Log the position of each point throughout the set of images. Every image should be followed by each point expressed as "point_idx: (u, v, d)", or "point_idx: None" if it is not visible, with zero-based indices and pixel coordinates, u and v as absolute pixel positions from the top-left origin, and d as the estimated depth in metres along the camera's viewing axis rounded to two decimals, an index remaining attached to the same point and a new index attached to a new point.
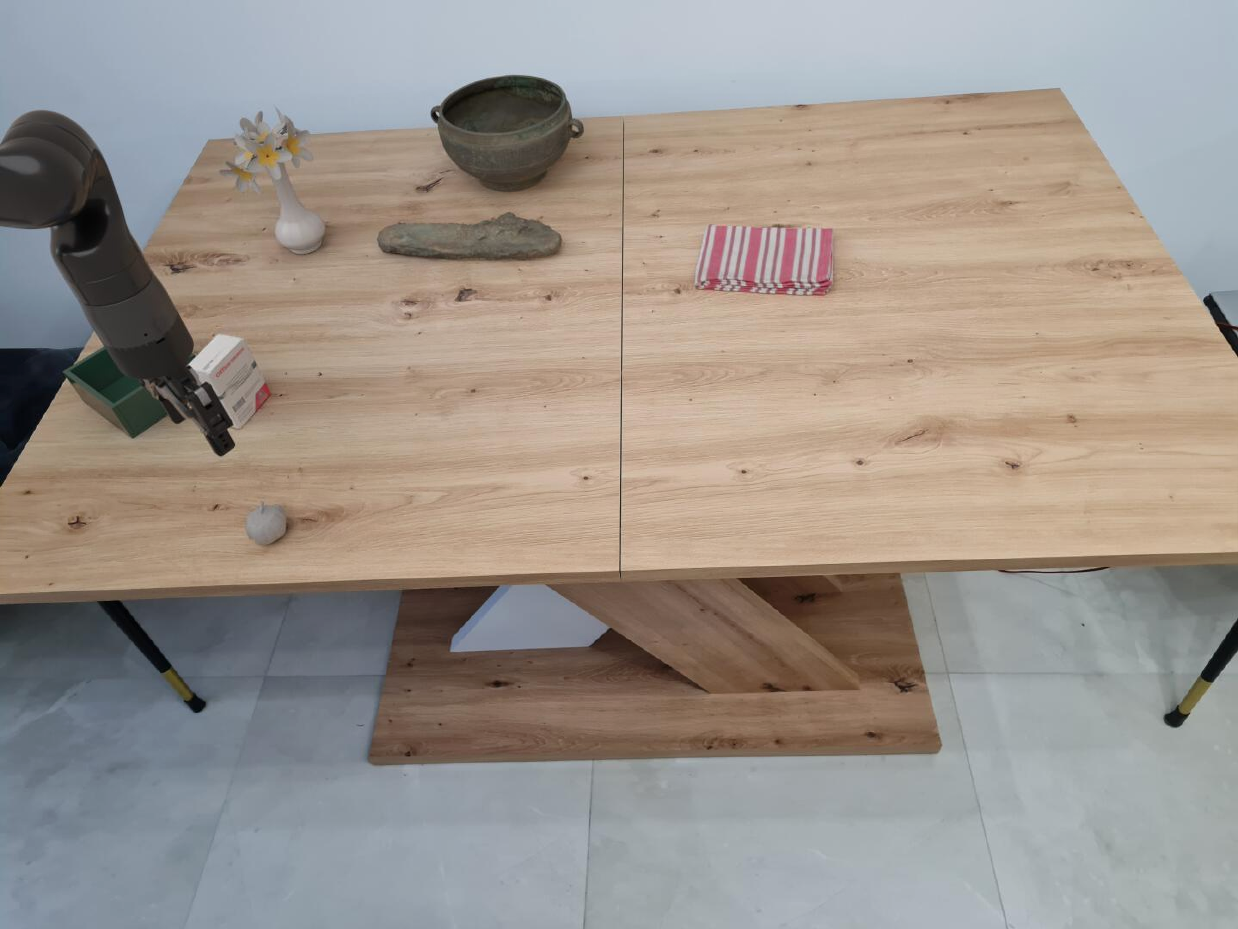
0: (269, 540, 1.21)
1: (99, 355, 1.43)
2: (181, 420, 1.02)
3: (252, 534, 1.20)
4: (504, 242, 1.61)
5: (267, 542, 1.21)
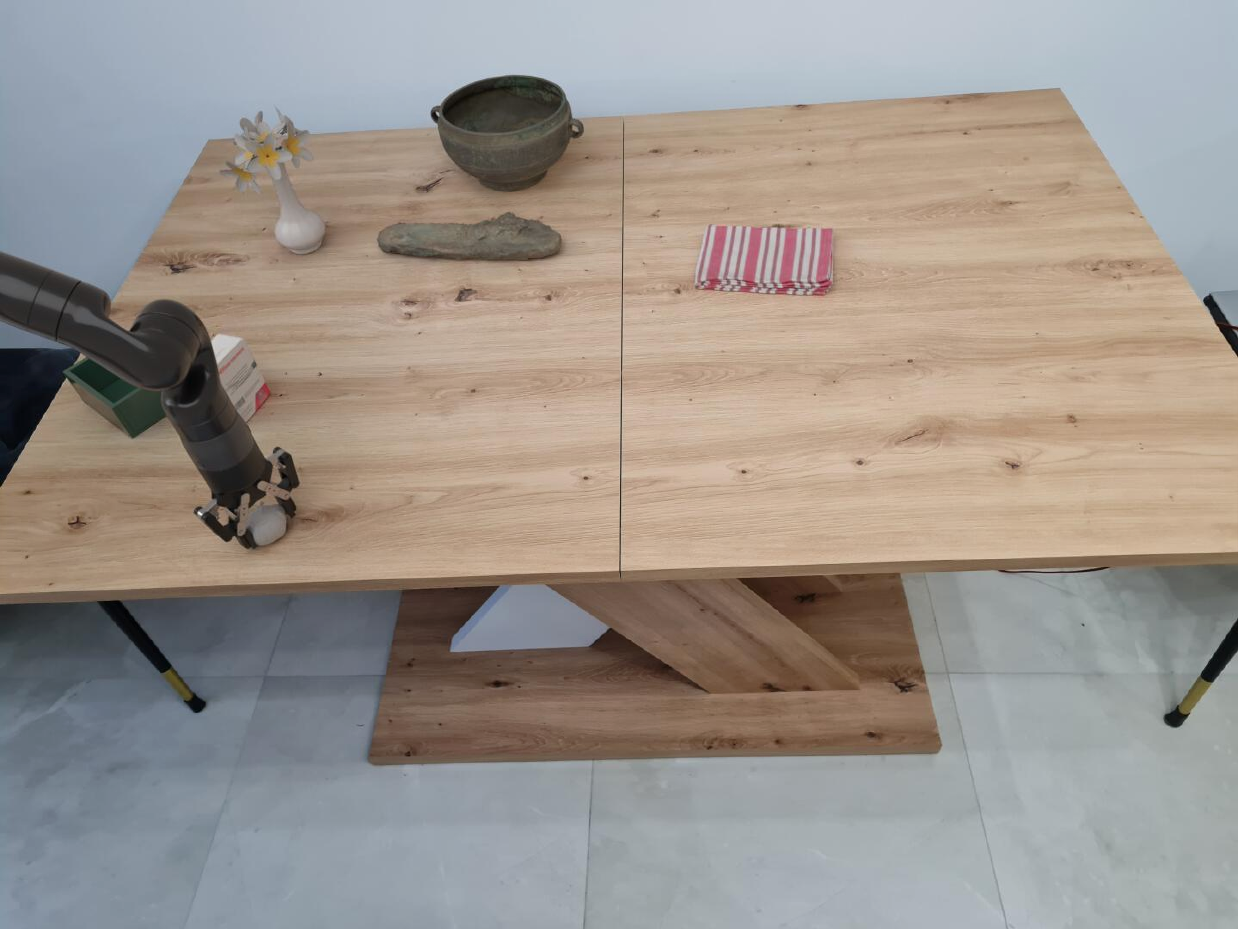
0: (269, 540, 1.21)
1: None
2: None
3: (252, 534, 1.20)
4: (504, 242, 1.61)
5: (267, 542, 1.21)
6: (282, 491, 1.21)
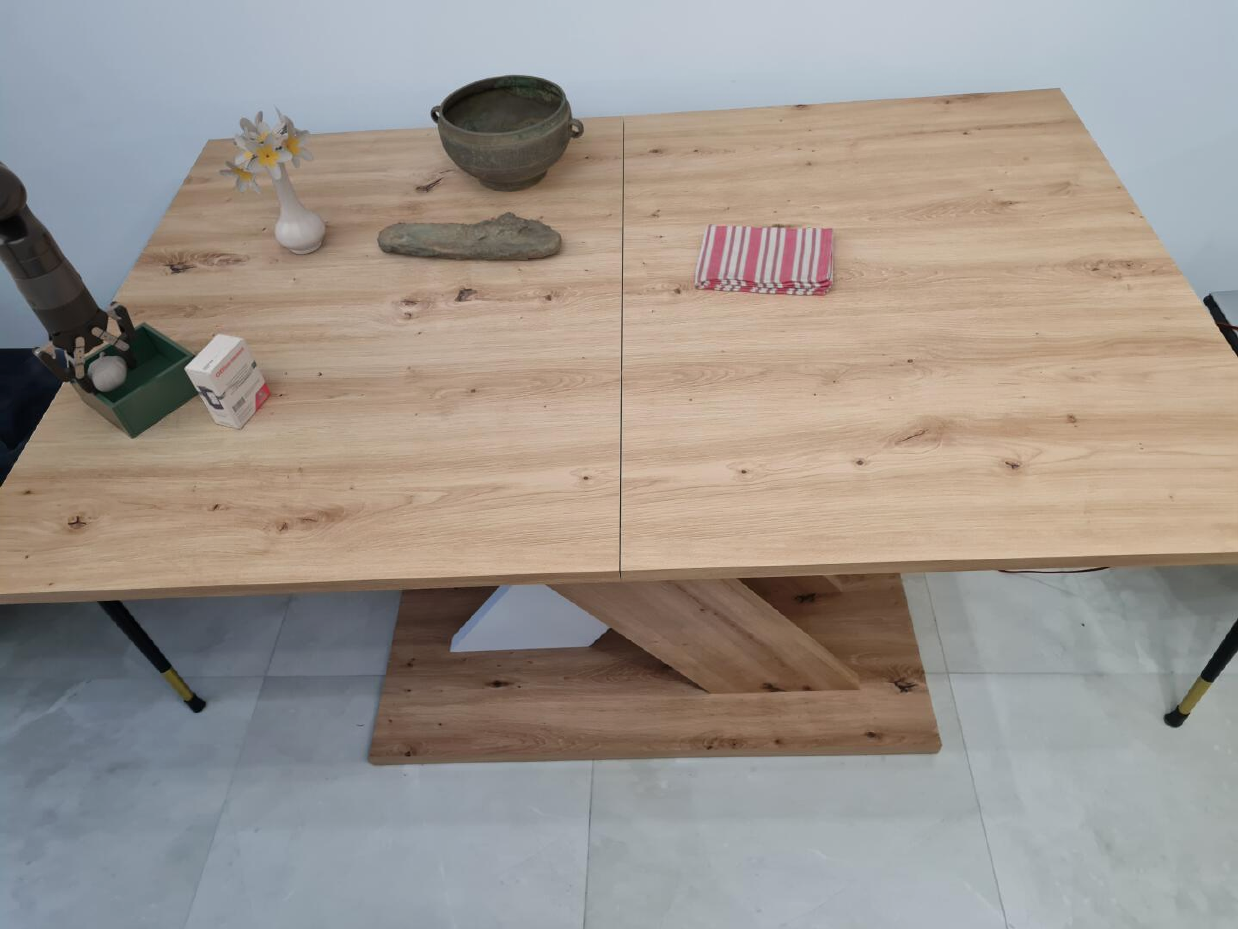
0: (108, 386, 1.36)
1: (99, 355, 1.43)
2: (128, 367, 1.40)
3: (92, 379, 1.35)
4: (504, 242, 1.61)
5: (106, 388, 1.36)
6: (119, 342, 1.35)
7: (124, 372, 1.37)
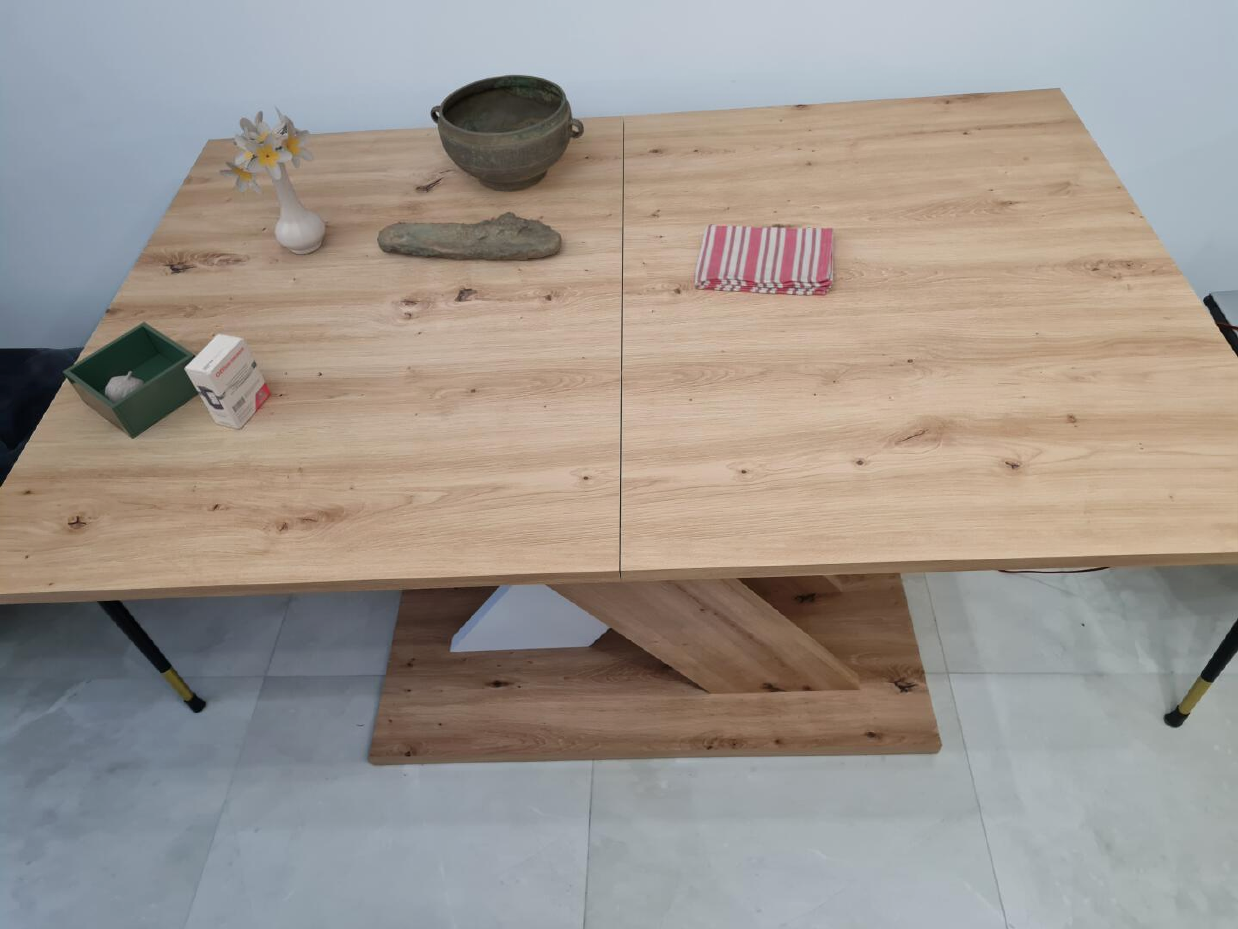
0: None
1: (99, 355, 1.43)
2: None
3: (112, 390, 1.38)
4: (504, 242, 1.61)
5: None
6: None
7: None
